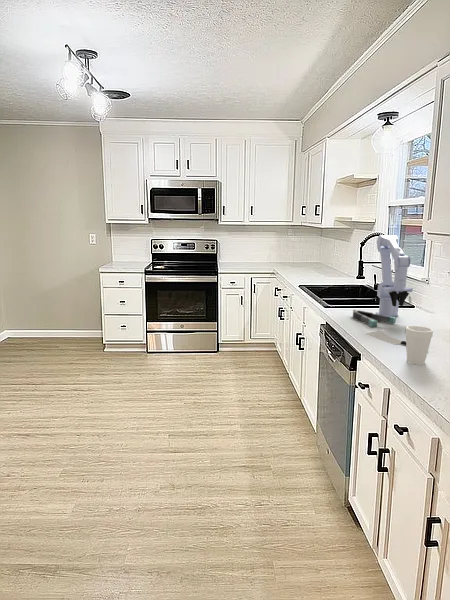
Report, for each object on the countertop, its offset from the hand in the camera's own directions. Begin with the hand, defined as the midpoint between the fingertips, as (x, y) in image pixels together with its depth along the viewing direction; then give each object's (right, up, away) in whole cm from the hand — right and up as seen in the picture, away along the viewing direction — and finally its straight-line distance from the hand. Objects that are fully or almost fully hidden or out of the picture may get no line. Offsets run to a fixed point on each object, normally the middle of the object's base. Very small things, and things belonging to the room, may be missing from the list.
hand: (397, 305), depth 237 cm
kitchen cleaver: (-15, -16, -36) cm, 42 cm away
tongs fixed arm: (-18, -8, -2) cm, 20 cm away
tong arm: (-11, -7, +4) cm, 14 cm away
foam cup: (-16, -21, -61) cm, 67 cm away
